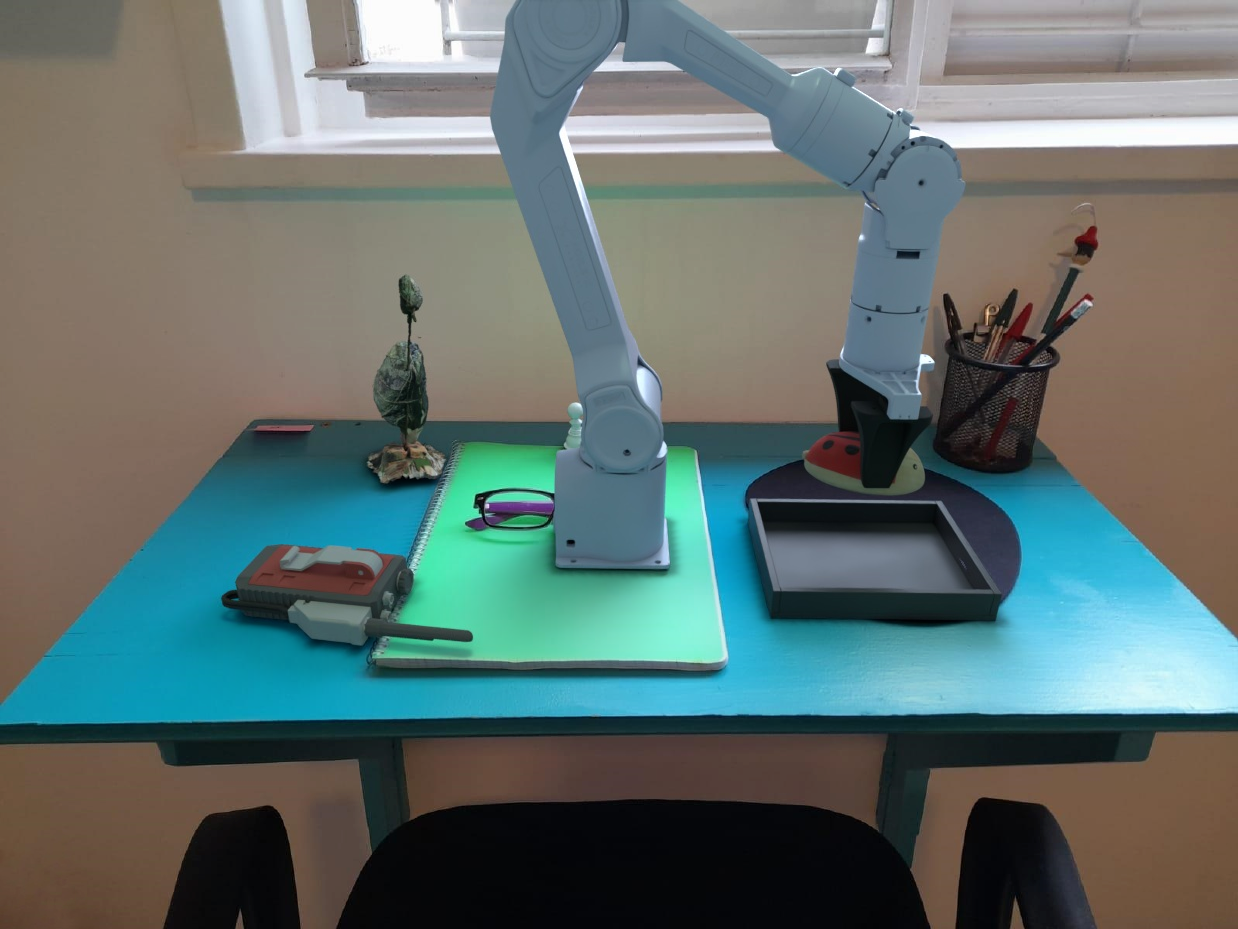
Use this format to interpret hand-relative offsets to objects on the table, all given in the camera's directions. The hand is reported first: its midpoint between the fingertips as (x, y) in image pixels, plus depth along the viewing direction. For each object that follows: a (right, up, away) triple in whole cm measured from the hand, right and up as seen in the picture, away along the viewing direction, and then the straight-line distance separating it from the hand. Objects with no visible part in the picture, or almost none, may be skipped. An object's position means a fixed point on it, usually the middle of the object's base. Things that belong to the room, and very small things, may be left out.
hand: (863, 464), depth 71 cm
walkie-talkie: (-40, -11, -4) cm, 42 cm away
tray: (0, -9, +2) cm, 9 cm away
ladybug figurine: (0, -1, +1) cm, 2 cm away
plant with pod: (-42, 0, +18) cm, 45 cm away
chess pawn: (-30, -5, +10) cm, 32 cm away
